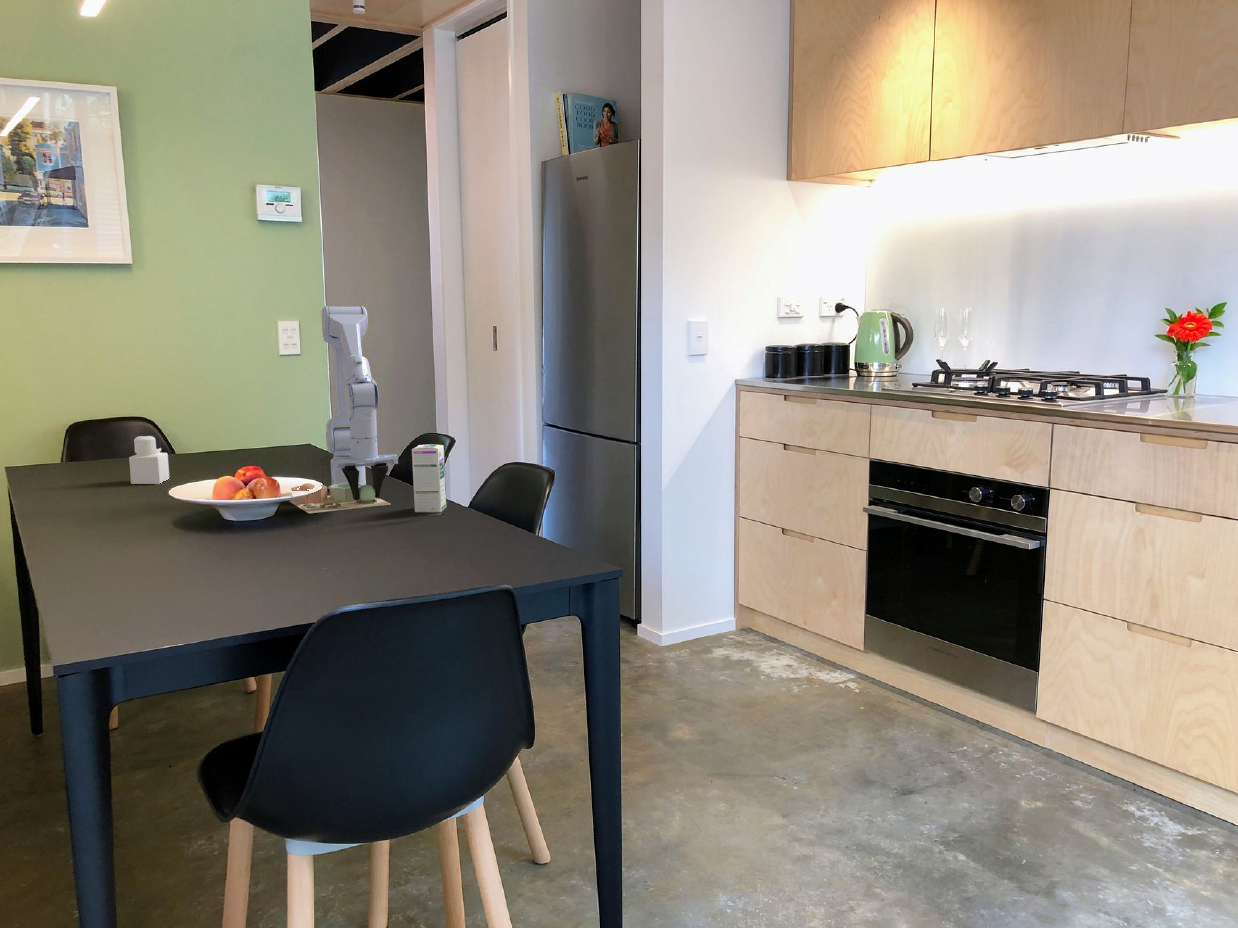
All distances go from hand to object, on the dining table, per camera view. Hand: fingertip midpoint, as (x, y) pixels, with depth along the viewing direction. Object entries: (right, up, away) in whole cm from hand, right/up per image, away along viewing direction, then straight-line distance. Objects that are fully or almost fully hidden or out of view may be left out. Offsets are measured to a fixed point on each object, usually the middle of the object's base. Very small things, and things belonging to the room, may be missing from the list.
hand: (366, 498), depth 215 cm
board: (-6, -2, +1) cm, 7 cm away
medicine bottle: (-63, +3, +32) cm, 71 cm away
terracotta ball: (-13, -1, +2) cm, 13 cm away
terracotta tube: (-13, -1, +2) cm, 14 cm away
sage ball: (0, -1, 0) cm, 1 cm away
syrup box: (+16, -3, -7) cm, 18 cm away
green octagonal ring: (-6, -1, +5) cm, 7 cm away
